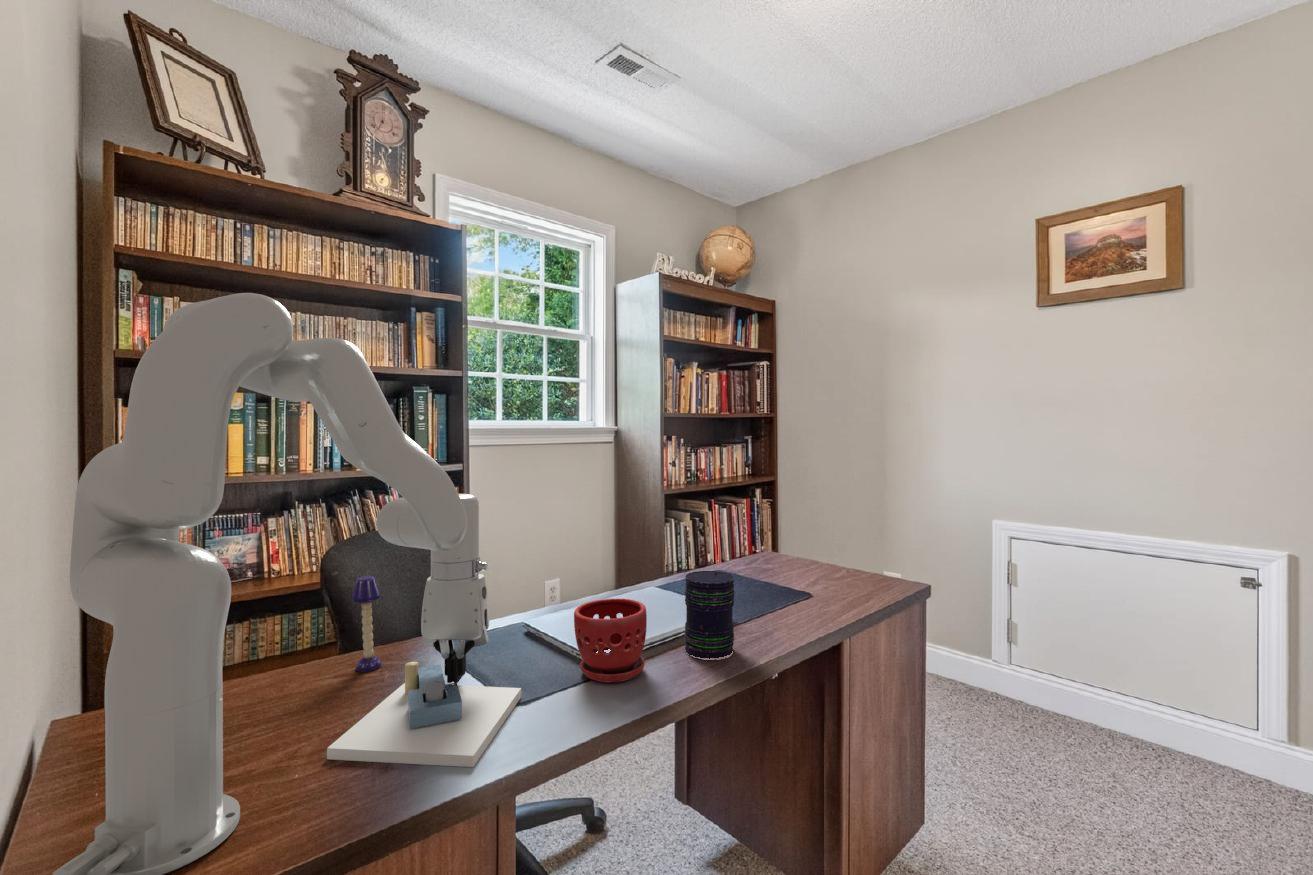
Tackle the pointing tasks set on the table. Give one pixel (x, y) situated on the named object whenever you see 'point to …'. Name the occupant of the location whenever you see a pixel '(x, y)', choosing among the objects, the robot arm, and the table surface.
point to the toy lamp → (367, 620)
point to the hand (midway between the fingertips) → (455, 679)
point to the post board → (427, 727)
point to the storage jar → (709, 614)
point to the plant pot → (611, 639)
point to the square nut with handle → (434, 710)
